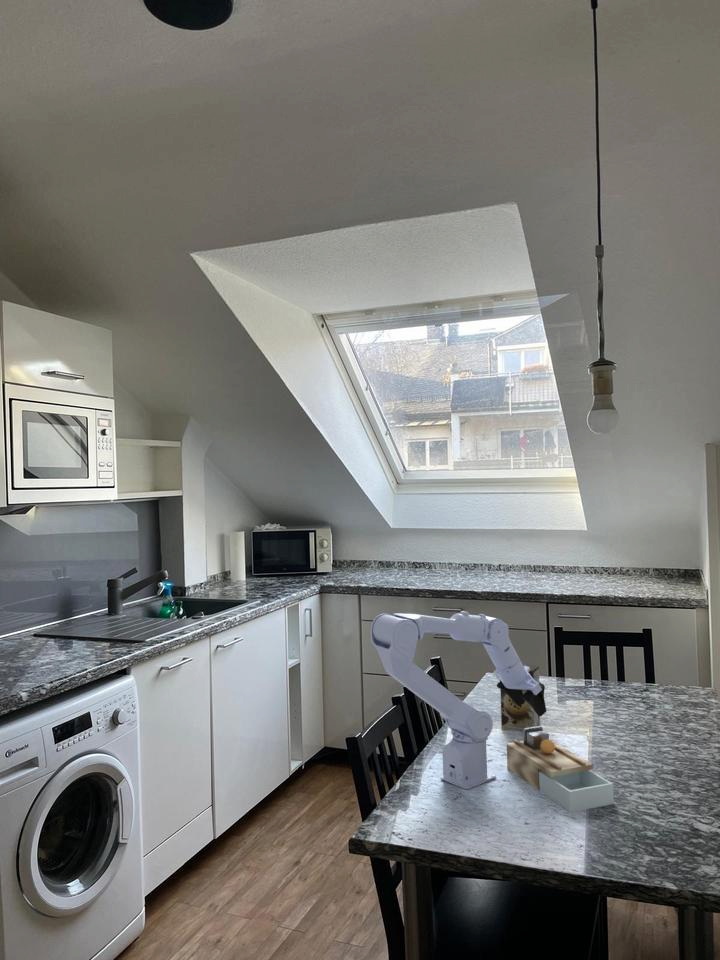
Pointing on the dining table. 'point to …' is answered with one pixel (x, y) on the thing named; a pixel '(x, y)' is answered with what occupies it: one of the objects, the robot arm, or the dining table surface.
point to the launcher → (542, 762)
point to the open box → (577, 790)
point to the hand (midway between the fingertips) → (532, 708)
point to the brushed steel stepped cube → (534, 737)
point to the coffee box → (519, 709)
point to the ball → (547, 746)
